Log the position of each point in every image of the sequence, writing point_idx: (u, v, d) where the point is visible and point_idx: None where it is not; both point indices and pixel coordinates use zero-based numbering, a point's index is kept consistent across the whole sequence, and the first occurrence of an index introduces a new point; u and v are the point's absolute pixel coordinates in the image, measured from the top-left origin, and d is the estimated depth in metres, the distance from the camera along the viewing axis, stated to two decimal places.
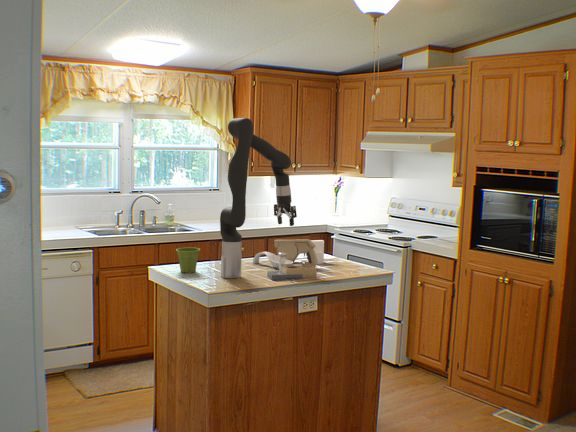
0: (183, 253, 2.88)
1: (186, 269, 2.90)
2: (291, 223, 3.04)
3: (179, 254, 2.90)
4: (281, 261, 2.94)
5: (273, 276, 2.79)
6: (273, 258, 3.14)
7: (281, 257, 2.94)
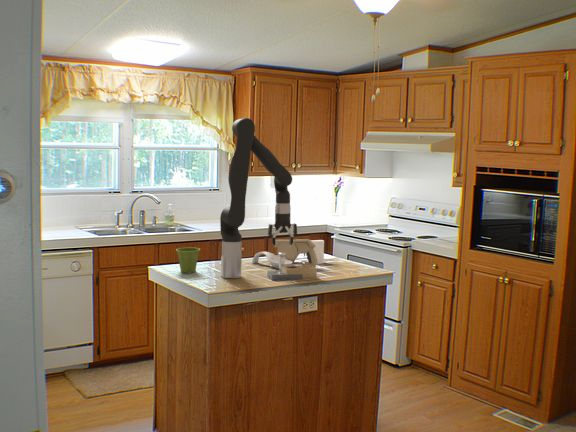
0: (183, 253, 2.88)
1: (186, 269, 2.90)
2: (292, 241, 2.95)
3: (179, 254, 2.90)
4: (281, 261, 2.94)
5: (273, 276, 2.79)
6: (272, 258, 3.14)
7: (281, 257, 2.94)
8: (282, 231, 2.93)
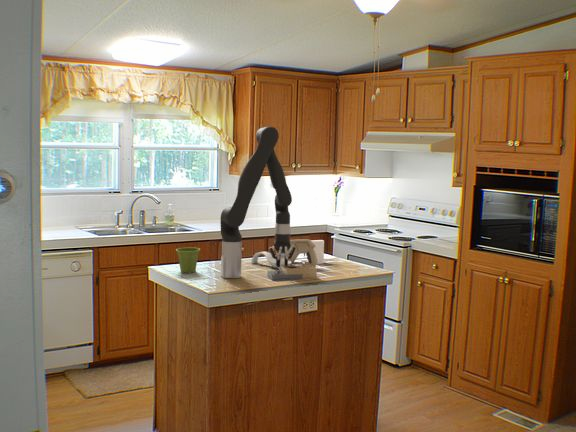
0: (183, 253, 2.88)
1: (186, 269, 2.90)
2: (286, 264, 2.96)
3: (179, 254, 2.90)
4: (281, 261, 2.94)
5: (273, 276, 2.79)
6: (271, 258, 3.14)
7: (281, 257, 2.94)
8: (282, 251, 2.94)
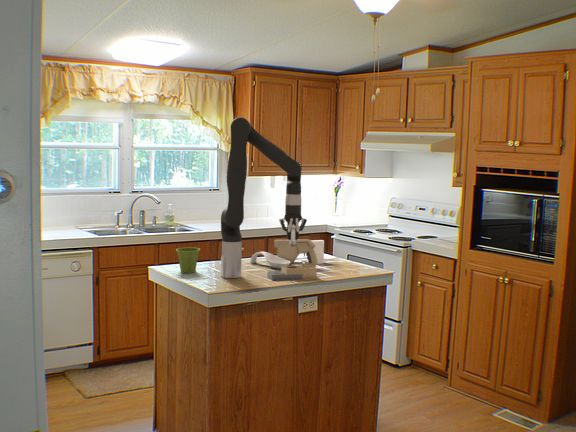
0: (183, 253, 2.88)
1: (186, 269, 2.90)
2: (297, 236, 2.84)
3: (179, 254, 2.90)
4: (292, 233, 2.83)
5: (273, 276, 2.79)
6: (270, 258, 3.14)
7: (292, 229, 2.83)
8: (292, 223, 2.83)
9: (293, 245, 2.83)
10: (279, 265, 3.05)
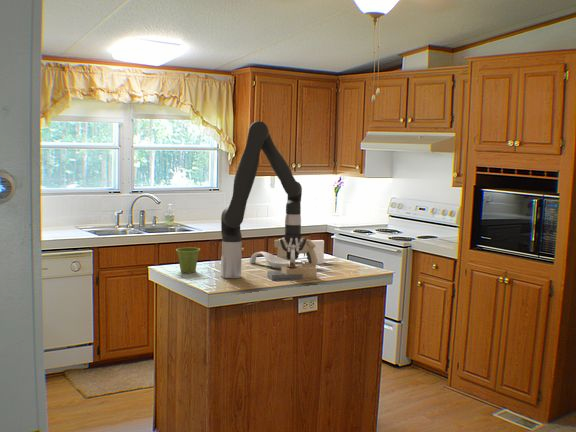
0: (183, 253, 2.88)
1: (186, 269, 2.90)
2: (297, 256, 2.85)
3: (179, 254, 2.90)
4: (291, 253, 2.84)
5: (273, 276, 2.79)
6: (270, 258, 3.14)
7: (291, 249, 2.84)
8: (292, 243, 2.84)
9: (293, 265, 2.85)
10: (279, 265, 3.05)
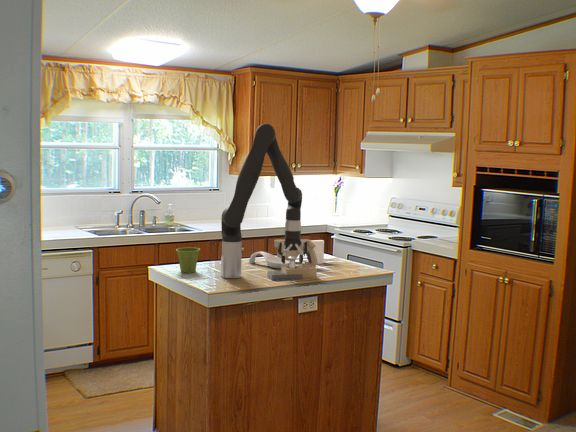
0: (183, 253, 2.88)
1: (186, 269, 2.90)
2: (302, 260, 2.86)
3: (179, 254, 2.90)
4: (291, 265, 2.84)
5: (273, 276, 2.79)
6: (269, 258, 3.15)
7: (291, 261, 2.84)
8: (292, 249, 2.84)
9: None
10: (278, 265, 3.05)
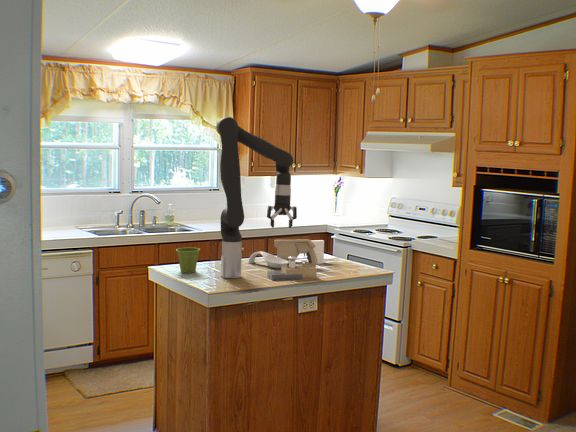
0: (183, 253, 2.88)
1: (186, 269, 2.90)
2: (291, 225, 2.89)
3: (179, 254, 2.90)
4: (291, 265, 2.84)
5: (273, 276, 2.79)
6: (269, 258, 3.15)
7: (291, 261, 2.84)
8: (281, 213, 2.87)
9: None
10: (277, 265, 3.05)
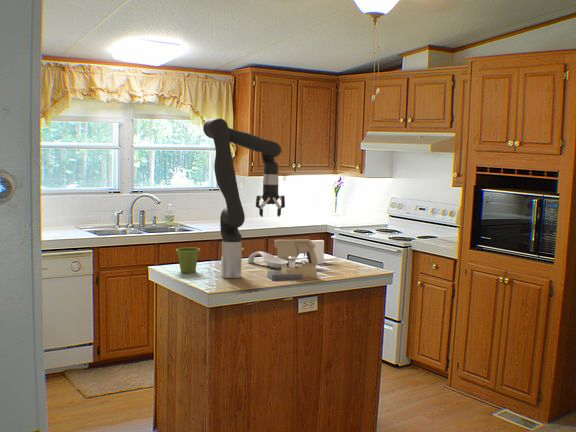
0: (183, 253, 2.88)
1: (186, 269, 2.90)
2: (280, 213, 2.94)
3: (179, 254, 2.90)
4: (291, 265, 2.84)
5: (273, 276, 2.79)
6: (268, 258, 3.15)
7: (291, 261, 2.84)
8: (270, 202, 2.92)
9: None
10: (277, 265, 3.05)
